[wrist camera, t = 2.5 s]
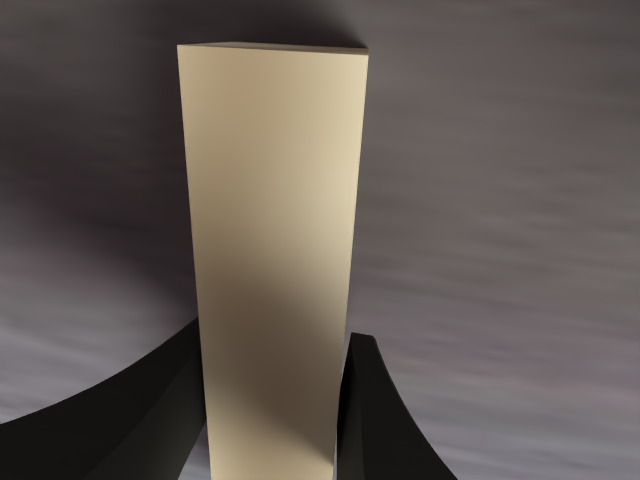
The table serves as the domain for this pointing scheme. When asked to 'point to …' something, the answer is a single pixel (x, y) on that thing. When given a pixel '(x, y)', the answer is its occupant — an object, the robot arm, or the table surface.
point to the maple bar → (272, 245)
